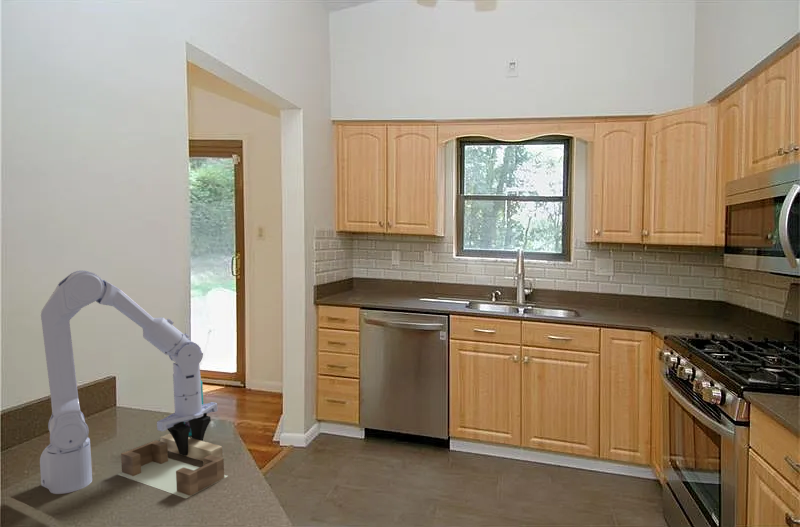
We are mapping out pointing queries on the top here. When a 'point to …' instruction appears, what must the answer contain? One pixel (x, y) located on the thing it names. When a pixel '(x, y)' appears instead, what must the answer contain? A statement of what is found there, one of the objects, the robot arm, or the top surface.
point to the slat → (194, 447)
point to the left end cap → (143, 457)
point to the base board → (162, 475)
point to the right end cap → (200, 476)
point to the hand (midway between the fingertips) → (190, 451)
